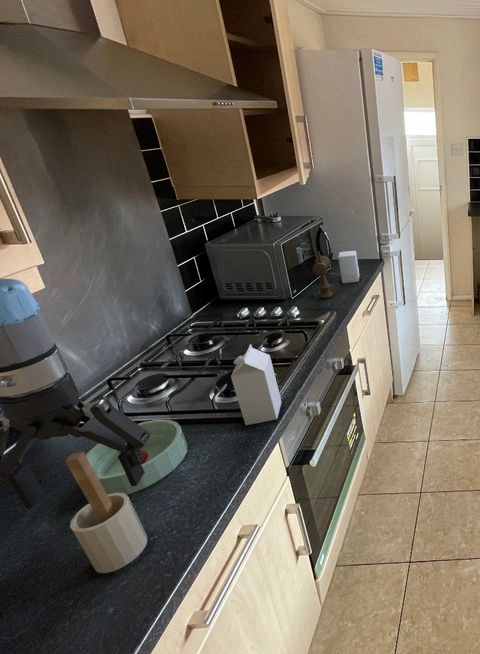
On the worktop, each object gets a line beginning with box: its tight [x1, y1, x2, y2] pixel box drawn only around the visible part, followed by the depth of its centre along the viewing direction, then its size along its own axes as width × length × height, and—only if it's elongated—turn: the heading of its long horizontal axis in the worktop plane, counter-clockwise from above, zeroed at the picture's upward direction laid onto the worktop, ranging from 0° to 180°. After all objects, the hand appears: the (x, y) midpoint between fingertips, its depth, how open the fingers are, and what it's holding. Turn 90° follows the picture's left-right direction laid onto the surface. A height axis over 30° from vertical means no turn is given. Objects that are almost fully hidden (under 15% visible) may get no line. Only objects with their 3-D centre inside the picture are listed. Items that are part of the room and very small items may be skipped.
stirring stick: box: [64, 451, 117, 523], centre depth 70 cm, size 2×2×22 cm
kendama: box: [311, 251, 334, 299], centre depth 169 cm, size 6×10×20 cm, turn 16°
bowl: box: [85, 419, 188, 496], centre depth 91 cm, size 17×17×6 cm
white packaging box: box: [337, 250, 360, 284], centre depth 187 cm, size 7×7×13 cm
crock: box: [69, 493, 148, 574], centre depth 72 cm, size 7×7×11 cm
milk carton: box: [230, 343, 283, 426], centre depth 104 cm, size 7×7×19 cm
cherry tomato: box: [141, 450, 148, 464], centre depth 91 cm, size 3×3×3 cm
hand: (88, 489), depth 68 cm, fingers open, 13 cm apart
